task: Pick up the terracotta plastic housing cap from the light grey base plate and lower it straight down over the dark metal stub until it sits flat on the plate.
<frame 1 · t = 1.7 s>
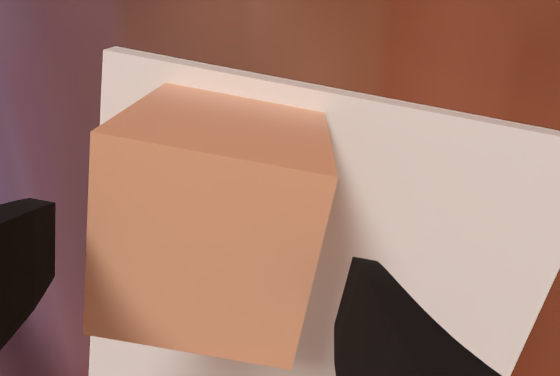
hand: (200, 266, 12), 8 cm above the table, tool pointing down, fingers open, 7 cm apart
housing cap: (234, 172, 18), point 1 cm above the table, touching base plate
base plate: (312, 286, 21), on the table
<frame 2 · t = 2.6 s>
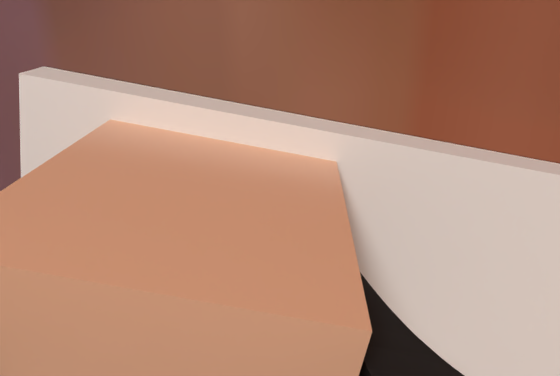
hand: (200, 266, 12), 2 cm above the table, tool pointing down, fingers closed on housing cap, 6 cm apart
housing cap: (209, 240, 13), point 1 cm above the table, touching base plate, gripper
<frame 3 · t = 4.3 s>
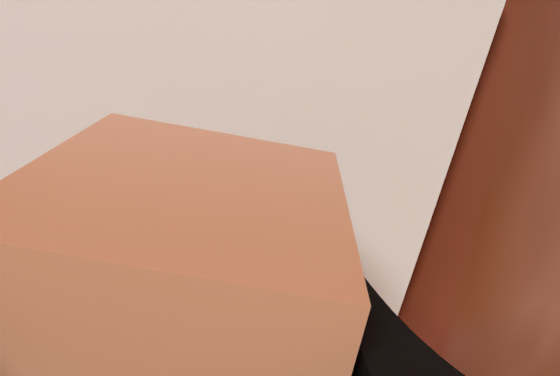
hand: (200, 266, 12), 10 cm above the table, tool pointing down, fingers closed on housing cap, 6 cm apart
housing cap: (210, 233, 13), point 8 cm above the table, touching gripper
base plate: (224, 154, 21), on the table
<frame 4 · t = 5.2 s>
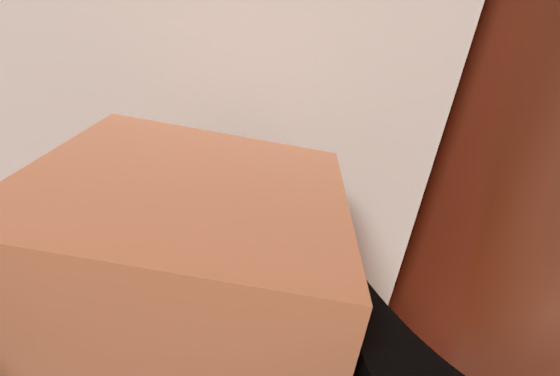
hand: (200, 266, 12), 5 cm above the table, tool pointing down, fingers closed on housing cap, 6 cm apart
housing cap: (211, 233, 13), point 4 cm above the table, touching gripper
base plate: (144, 114, 16), on the table
when the fingers open (4 cm above the table, at t = 6.0 s): housing cap stays where it is, resting on base plate.
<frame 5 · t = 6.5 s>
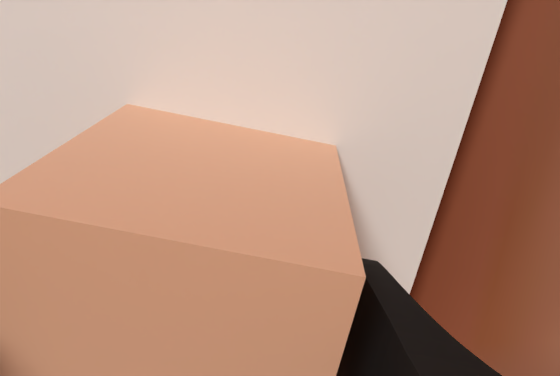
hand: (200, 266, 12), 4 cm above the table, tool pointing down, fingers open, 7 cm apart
housing cap: (217, 218, 14), point 1 cm above the table, touching base plate
base plate: (130, 125, 14), on the table
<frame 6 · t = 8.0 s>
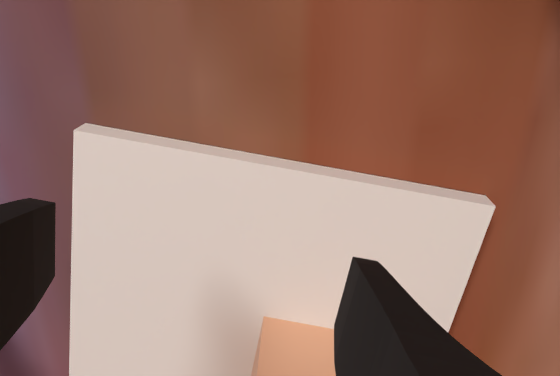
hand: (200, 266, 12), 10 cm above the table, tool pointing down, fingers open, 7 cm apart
housing cap: (308, 371, 24), point 1 cm above the table, touching base plate
base plate: (257, 316, 25), on the table
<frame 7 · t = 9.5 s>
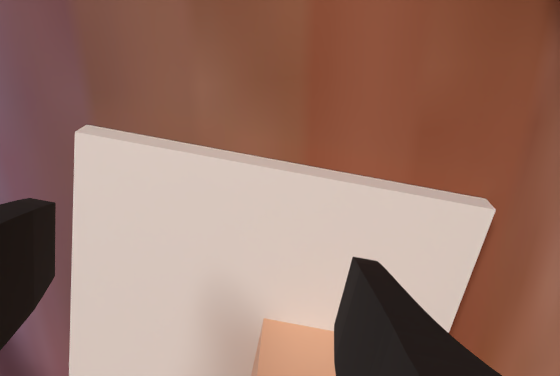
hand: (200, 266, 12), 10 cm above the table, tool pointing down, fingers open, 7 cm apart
housing cap: (308, 373, 24), point 1 cm above the table, touching base plate
base plate: (257, 318, 25), on the table
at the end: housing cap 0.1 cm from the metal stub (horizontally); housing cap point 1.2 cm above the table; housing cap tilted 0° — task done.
